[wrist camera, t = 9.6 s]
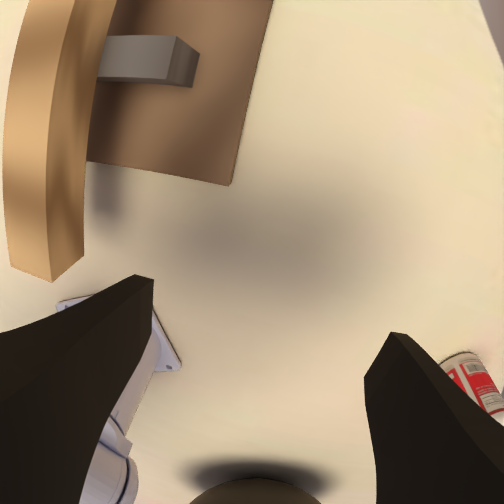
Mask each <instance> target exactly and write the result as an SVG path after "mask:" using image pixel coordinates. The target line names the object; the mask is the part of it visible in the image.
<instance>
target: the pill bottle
mask: <svg viewBox="0 0 504 504" xmlns="http://www.w3.org/2000/svg"><path fill="white" fill-rule="evenodd" d="M440 367H441V368H442V369H443V370H444V371H445V372H446V373H447V374H448V375H449V377H450V378H451V379H452V380H453V381H454V382H455V383H456V384H457V385H458V386H459V387H460V388H461V389H462V390H463V391H464V392H465V393H466V394H467V395H468V396H469V397H470V398H471V399H472V400H473V401H474V402H476V403H477V404H478V405H479V406H480V407H481V408H482V409H483V410H484V411H486V412H487V413H488V414H489V415H490V416H492V417H493V418H494V419H495V420H496V421H498V422H499V423H500V424H501V425H503V426H504V400H503V398H502V397H501V395H500V393H499V391H498V389H497V388H496V386H495V384H494V382H493V381H492V379H491V377H490V375H489V374H488V372H487V370H486V369H485V367H484V365H483V364H482V362H481V361H480V359H479V358H478V357H477V356H476V355H474V354H471V353H464V354H459V355H457V356H454V357H452V358H450V359H448V360H447V361H445V362H444V363H442V364H441V365H440Z"/></svg>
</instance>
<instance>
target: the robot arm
mask: <svg viewBox="0 0 504 504" xmlns="http://www.w3.org/2000/svg"><path fill="white" fill-rule="evenodd" d="M153 286H154V279H150V278H146V277H143V276H139V275H136V274H134V275H132V276H130V277H128V278H126V279H124V280H122V281H120V282H118V283H116V284H114V285H112V286H110V287H108V288H106V289H104V290H103V291H101V292H99V293H97V294H95V295H91V296H87V297H82V298H77V299H72V300H67V301H62V302H59V303H57V304H56V309H57V311H58V312H57V313H55V314H53V315H51V316H48V317H46V318H44V319H41V320H38V321H36V322H33V323H31V324H28V325H25V326H22V327H19V328H16V329H13V330H10V331H6V332H2V333H0V504H133V503H134V501H135V498H136V495H137V491H138V483H139V481H138V471H137V466H136V464H135V462H134V461H133V459H132V458H130V457H129V456H128V455H129V452H130V450H131V447H132V445H133V444H132V443H131V442H130V441H129V440H127V439H126V438H125V436H126V433H127V431H128V429H129V426H130V424H131V422H132V420H133V417H134V415H135V413H136V410H137V408H138V406H139V403H140V401H141V399H142V397H143V394H144V392H145V390H146V388H147V386H148V383H149V381H150V379H151V377H152V374H153V372H165V371H178V370H180V368H181V363H180V361H179V359H178V358H177V356H176V354H175V352H174V350H173V348H172V347H171V345H170V343H169V341H168V339H167V337H166V335H165V333H164V332H163V330H162V328H161V326H160V324H159V322H158V320H157V318H156V316H155V314H154V312H153V310H152V307H153ZM169 365H170V366H169ZM364 393H365V406H366V412H367V417H368V423H369V429H370V434H371V440H372V446H373V452H374V458H375V465H376V482H377V498H376V504H504V426H503V425H501V424H500V423H499V422H498V421H496V420H495V419H494V418H493V417H492V416H490V415H489V414H488V413H487V412H486V411H484V410H483V409H482V408H481V407H480V406H479V405H478V404H477V403H476V402H474V401H473V400H472V399H471V398H470V397H469V396H468V395H467V394H466V393H465V392H464V391H463V390H462V389H461V388H460V387H459V386H458V385H457V384H456V383H455V382H454V381H453V380H452V379H451V378H450V377H449V375H448V374H447V373H446V372H445V371H444V370H443V369H442V368H441V367H440V366H439V365H438V364H437V363H436V362H435V361H434V360H433V359H432V358H431V357H430V356H429V355H428V353H427V352H426V351H425V350H424V349H423V348H422V347H421V346H420V345H418V344H417V343H416V342H415V341H414V340H413V339H412V338H411V337H409V336H408V335H407V334H402V333H396V332H390V334H389V336H388V338H387V339H386V341H385V343H384V345H383V346H382V348H381V350H380V352H379V353H378V355H377V357H376V358H375V360H374V362H373V363H372V365H371V367H370V368H369V370H368V371H367V373H366V375H365V376H364Z"/></svg>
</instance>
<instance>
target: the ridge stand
mask: <svg viewBox="0 0 504 504" xmlns="http://www.w3.org/2000/svg"><path fill="white" fill-rule="evenodd" d="M272 4H273V0H117V1H116V4H115V7H114V11H113V14H112V17H111V21H110V24H109V28H108V32H107V35H106V39H105V43H104V47H103V51H102V56H101V60H100V65H99V70H98V75H97V80H96V85H95V91H94V97H93V103H92V110H91V117H90V124H89V133H88V142H87V153H86V161H91V162H98V163H105V164H111V165H118V166H124V167H130V168H136V169H142V170H147V171H153V172H158V173H164V174H169V175H175V176H180V177H185V178H190V179H195V180H200V181H205V182H210V183H215V184H219V185H224V186H229V185H230V184H231V181H232V176H233V171H234V167H235V162H236V157H237V152H238V147H239V143H240V138H241V134H242V129H243V124H244V120H245V115H246V111H247V106H248V102H249V98H250V93H251V89H252V85H253V80H254V76H255V72H256V68H257V63H258V59H259V55H260V51H261V47H262V43H263V39H264V35H265V31H266V27H267V23H268V19H269V15H270V11H271V8H272Z"/></svg>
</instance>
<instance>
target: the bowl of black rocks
mask: <svg viewBox="0 0 504 504" xmlns="http://www.w3.org/2000/svg"><path fill="white" fill-rule="evenodd" d="M190 504H321V503H320V502H319V501H318V500H317V499H315V498H314V497H313V496H311V495H310V494H309V493H307V492H305V491H304V490H302V489H300V488H298V487H295V486H293V485H290V484H287V483H284V482H281V481H276V480H270V479H258V478H254V479H241V480H235V481H230V482H227V483H223V484H220V485H218V486H215V487H213V488H211V489H209V490H207V491H205V492H204V493H202V494H201V495H199V496H198V497H196V498H195V499H194V500H193V501H192V502H191V503H190Z"/></svg>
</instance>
